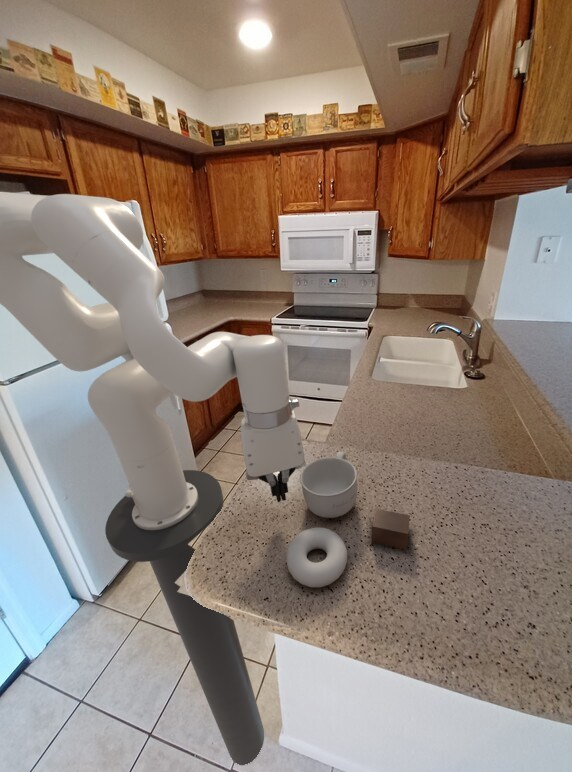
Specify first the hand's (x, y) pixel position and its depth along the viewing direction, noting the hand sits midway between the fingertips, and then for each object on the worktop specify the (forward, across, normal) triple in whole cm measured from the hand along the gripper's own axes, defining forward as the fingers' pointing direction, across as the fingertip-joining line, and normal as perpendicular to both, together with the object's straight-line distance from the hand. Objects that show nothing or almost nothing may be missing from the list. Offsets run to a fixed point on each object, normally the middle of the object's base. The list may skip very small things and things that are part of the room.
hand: (280, 495), depth 61 cm
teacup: (+5, -10, 0) cm, 12 cm away
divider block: (+5, -17, +12) cm, 21 cm away
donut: (+5, -3, +12) cm, 13 cm away
